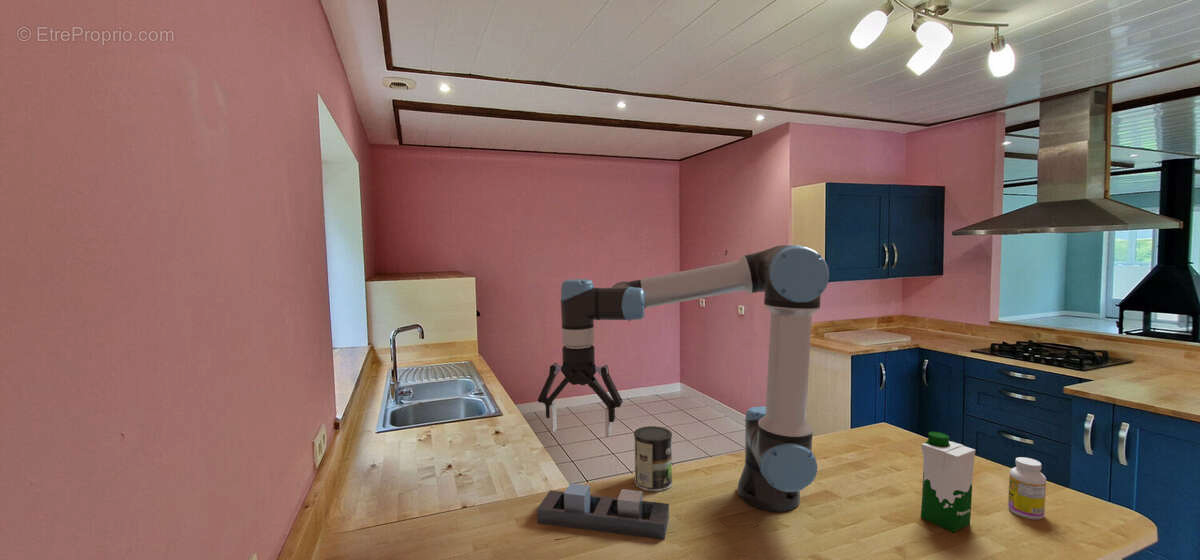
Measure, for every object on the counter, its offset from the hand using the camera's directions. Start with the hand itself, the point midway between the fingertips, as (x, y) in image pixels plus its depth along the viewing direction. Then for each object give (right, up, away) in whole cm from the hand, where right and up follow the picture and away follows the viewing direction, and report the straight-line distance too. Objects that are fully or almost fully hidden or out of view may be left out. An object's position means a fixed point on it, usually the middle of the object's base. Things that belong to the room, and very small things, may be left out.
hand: (580, 433), depth 118 cm
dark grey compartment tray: (+5, -21, 0) cm, 21 cm away
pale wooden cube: (+12, -21, -2) cm, 24 cm away
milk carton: (+85, -20, -2) cm, 88 cm away
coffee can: (+19, -19, +18) cm, 33 cm away
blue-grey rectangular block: (-1, -21, +1) cm, 21 cm away
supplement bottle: (+107, -20, +1) cm, 108 cm away
